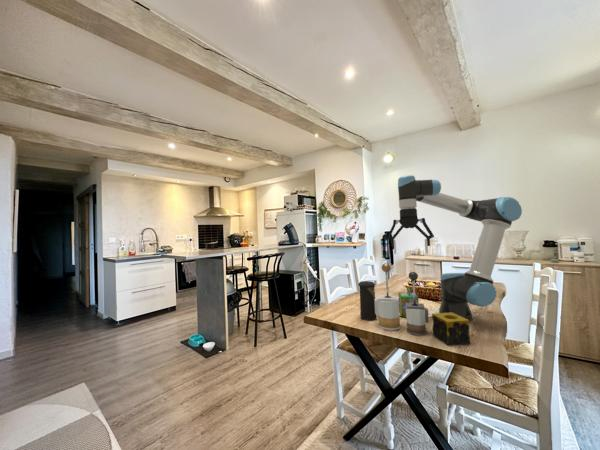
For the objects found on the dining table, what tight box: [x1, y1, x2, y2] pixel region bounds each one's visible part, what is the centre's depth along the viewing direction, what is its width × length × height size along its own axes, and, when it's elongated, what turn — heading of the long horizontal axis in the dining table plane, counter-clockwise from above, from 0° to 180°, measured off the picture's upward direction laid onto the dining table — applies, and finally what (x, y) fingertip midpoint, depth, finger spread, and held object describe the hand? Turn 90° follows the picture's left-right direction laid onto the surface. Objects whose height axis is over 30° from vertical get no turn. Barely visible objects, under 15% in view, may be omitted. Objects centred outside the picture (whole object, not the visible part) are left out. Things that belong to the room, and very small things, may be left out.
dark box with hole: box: [431, 312, 471, 346], centre depth 106 cm, size 10×10×10 cm
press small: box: [405, 303, 430, 337], centre depth 115 cm, size 10×8×12 cm
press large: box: [374, 294, 402, 331], centre depth 123 cm, size 12×10×14 cm
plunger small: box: [408, 271, 419, 306], centre depth 116 cm, size 4×4×16 cm
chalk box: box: [397, 287, 420, 318], centre depth 137 cm, size 9×9×15 cm
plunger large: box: [381, 263, 392, 298], centre depth 124 cm, size 4×4×18 cm
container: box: [357, 280, 378, 321], centre depth 136 cm, size 9×9×20 cm
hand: (410, 253), depth 116 cm, fingers open, 13 cm apart
